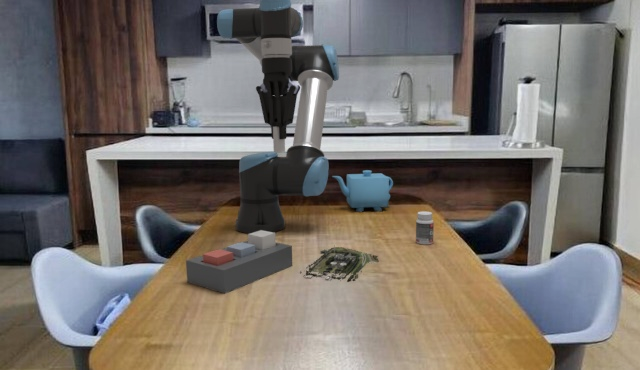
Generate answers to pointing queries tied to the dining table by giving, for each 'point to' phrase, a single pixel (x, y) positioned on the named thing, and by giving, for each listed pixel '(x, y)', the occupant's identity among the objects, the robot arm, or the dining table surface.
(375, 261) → the treatment plant
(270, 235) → the white key
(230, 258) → the red key
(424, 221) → the pill bottle
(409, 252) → the dining table surface
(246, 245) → the blue key
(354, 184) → the teapot
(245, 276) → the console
